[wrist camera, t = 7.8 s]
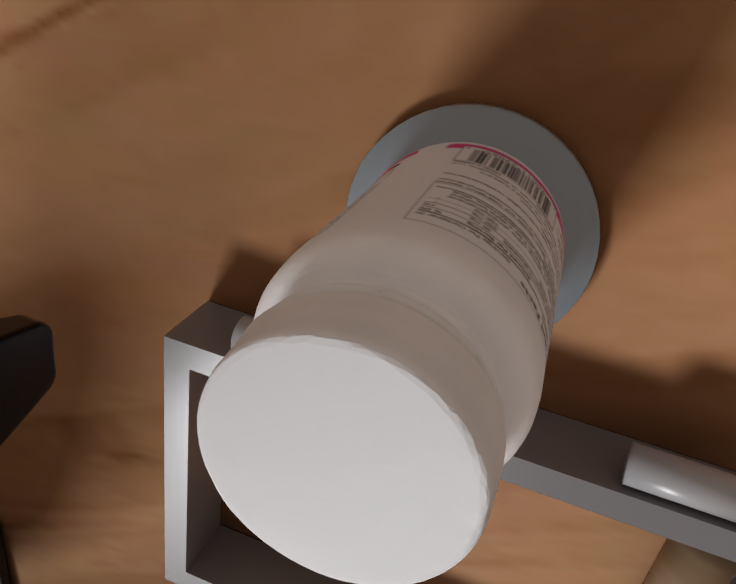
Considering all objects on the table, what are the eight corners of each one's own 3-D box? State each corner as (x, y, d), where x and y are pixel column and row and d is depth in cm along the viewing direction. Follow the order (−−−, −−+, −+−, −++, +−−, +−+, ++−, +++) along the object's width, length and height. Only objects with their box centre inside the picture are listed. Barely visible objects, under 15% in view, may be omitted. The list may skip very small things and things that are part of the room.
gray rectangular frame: (668, 739, 21) (673, 815, 19) (199, 542, 24) (165, 590, 22) (854, 472, 15) (888, 544, 13) (208, 271, 19) (163, 304, 17)
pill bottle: (398, 338, 17) (241, 601, 10) (342, 165, 15) (108, 328, 8) (586, 315, 15) (559, 623, 8) (544, 113, 13) (463, 269, 6)
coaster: (556, 369, 16) (555, 377, 16) (337, 301, 18) (332, 308, 17) (639, 137, 13) (639, 141, 13) (370, 77, 15) (364, 79, 14)
